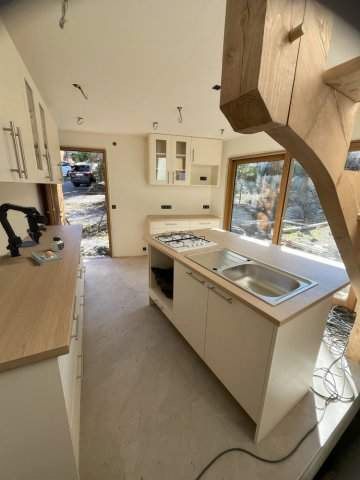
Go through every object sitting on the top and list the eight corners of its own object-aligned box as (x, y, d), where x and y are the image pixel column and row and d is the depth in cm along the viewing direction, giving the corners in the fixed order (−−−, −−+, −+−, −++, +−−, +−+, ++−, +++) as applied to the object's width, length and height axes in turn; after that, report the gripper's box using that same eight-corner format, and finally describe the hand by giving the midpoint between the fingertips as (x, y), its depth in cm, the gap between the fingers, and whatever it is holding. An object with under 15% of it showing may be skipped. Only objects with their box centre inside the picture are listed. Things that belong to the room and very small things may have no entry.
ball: (44, 256, 166) (44, 251, 164) (51, 255, 169) (51, 249, 168) (46, 258, 162) (46, 252, 161) (53, 257, 166) (53, 251, 165)
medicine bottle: (58, 251, 181) (57, 238, 178) (51, 250, 183) (50, 237, 180) (64, 248, 188) (63, 236, 185) (57, 248, 190) (56, 235, 186)
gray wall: (31, 256, 166) (30, 252, 165) (33, 256, 167) (32, 251, 166) (40, 265, 151) (39, 260, 150) (42, 264, 152) (42, 259, 151)
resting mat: (36, 257, 166) (36, 255, 166) (55, 253, 176) (55, 252, 176) (42, 262, 156) (42, 261, 155) (62, 258, 166) (62, 256, 166)
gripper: (48, 224, 159) (51, 243, 163) (41, 220, 171) (43, 238, 175) (31, 225, 151) (34, 246, 155) (25, 222, 163) (28, 240, 167)
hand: (35, 242), depth 164 cm, fingers open, 9 cm apart
